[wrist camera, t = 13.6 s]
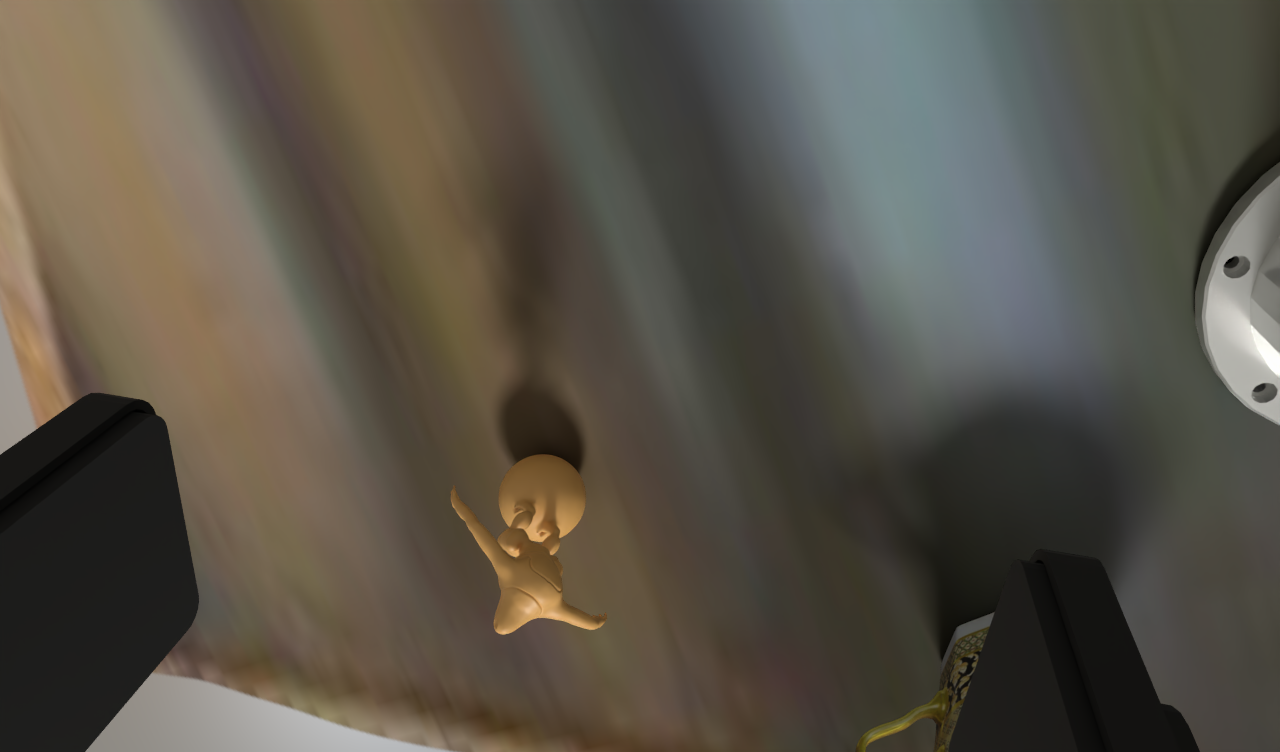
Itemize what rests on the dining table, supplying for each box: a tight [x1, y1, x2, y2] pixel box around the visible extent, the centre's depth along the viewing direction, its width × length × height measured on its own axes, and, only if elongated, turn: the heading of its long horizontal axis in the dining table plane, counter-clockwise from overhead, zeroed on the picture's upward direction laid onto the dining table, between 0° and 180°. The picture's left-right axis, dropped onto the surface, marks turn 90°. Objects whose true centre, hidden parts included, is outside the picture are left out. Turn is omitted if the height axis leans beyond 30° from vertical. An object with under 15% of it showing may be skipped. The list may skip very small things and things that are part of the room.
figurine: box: [451, 454, 607, 634], centre depth 39 cm, size 8×6×12 cm
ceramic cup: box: [856, 612, 995, 752], centre depth 41 cm, size 13×10×10 cm
